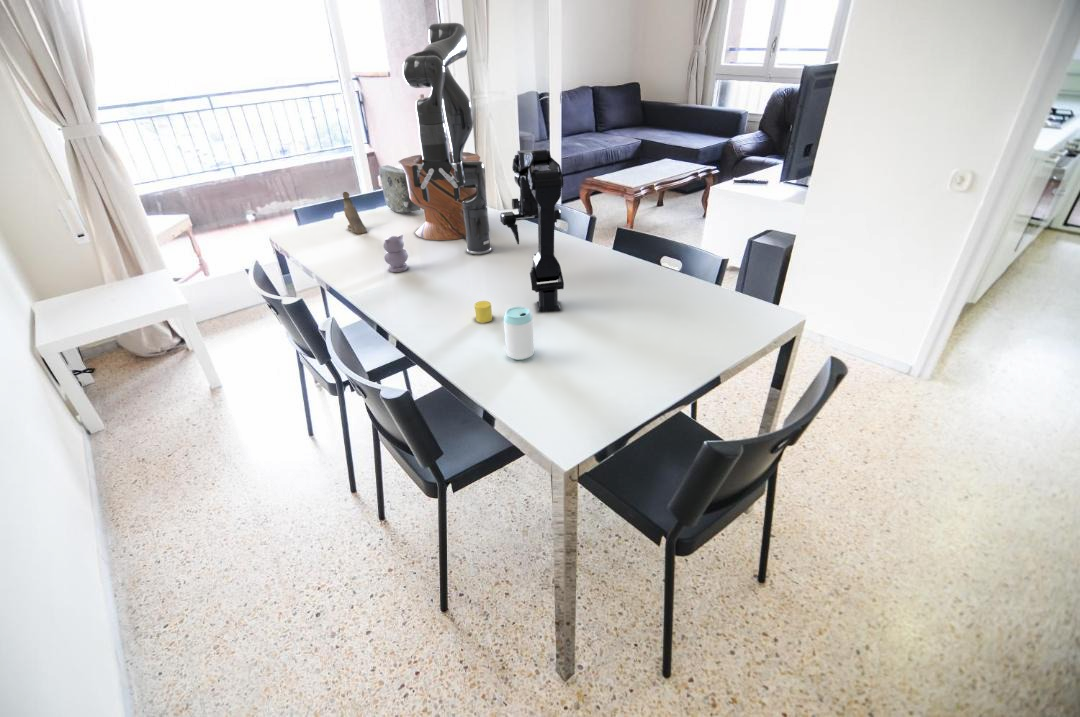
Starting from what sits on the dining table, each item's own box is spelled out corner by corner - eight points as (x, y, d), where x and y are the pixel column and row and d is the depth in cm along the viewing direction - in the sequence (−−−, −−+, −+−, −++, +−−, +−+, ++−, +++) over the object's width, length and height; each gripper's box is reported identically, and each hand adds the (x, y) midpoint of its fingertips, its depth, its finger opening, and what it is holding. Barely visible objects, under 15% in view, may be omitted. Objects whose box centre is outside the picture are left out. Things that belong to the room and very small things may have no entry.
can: (533, 346, 129) (531, 304, 123) (534, 360, 123) (532, 317, 117) (506, 347, 129) (503, 306, 123) (506, 362, 123) (502, 318, 117)
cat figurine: (401, 263, 186) (395, 231, 179) (414, 267, 181) (409, 235, 175) (382, 270, 180) (375, 237, 174) (395, 274, 176) (388, 241, 169)
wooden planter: (394, 239, 210) (380, 166, 195) (433, 216, 239) (423, 151, 223) (469, 244, 201) (460, 168, 186) (499, 220, 230) (494, 152, 214)
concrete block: (383, 207, 257) (375, 166, 246) (398, 204, 261) (391, 164, 251) (406, 217, 239) (398, 174, 228) (422, 214, 243) (415, 171, 233)
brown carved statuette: (348, 234, 227) (335, 193, 221) (360, 231, 230) (348, 191, 223) (356, 234, 218) (343, 192, 211) (368, 231, 221) (355, 189, 214)
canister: (478, 315, 146) (476, 300, 144) (493, 315, 146) (492, 301, 143) (474, 322, 142) (472, 307, 140) (490, 323, 142) (489, 308, 139)
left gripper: (461, 138, 139) (468, 197, 148) (411, 139, 139) (420, 198, 148) (457, 142, 133) (464, 203, 141) (404, 144, 133) (415, 205, 142)
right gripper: (550, 185, 163) (552, 232, 171) (495, 191, 159) (498, 238, 167) (561, 192, 154) (561, 241, 162) (502, 198, 150) (505, 248, 158)
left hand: (442, 201), depth 145 cm, fingers open, 8 cm apart
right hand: (531, 242), depth 162 cm, fingers open, 9 cm apart
